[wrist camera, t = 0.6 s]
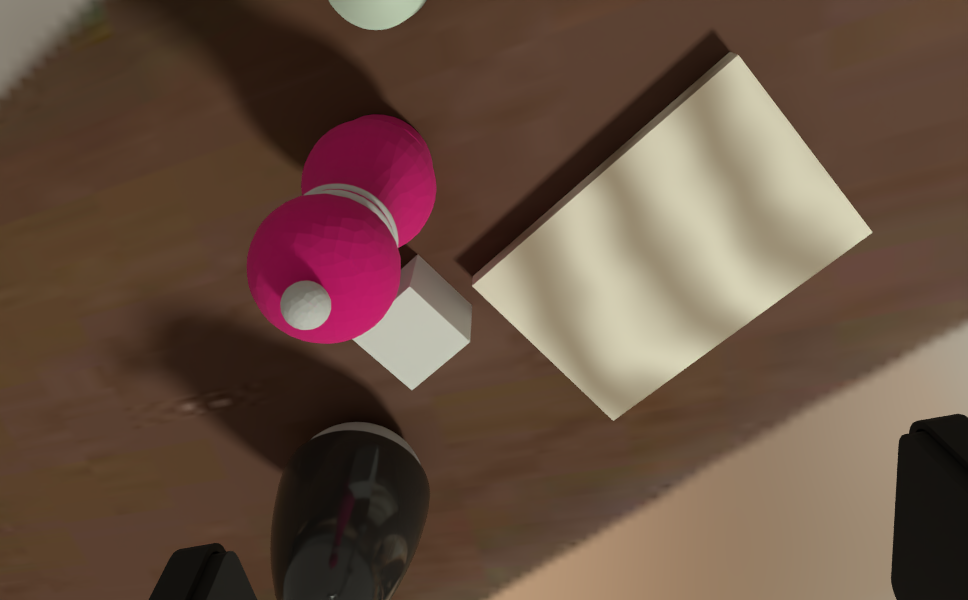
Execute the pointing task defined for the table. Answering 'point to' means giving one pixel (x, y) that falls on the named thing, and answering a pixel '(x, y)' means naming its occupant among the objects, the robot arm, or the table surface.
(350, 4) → the sage cylinder
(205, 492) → the table surface
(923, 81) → the table surface
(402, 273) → the grey block
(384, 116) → the pepper mill
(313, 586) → the dark grey egg shape
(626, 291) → the ash board
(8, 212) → the table surface
